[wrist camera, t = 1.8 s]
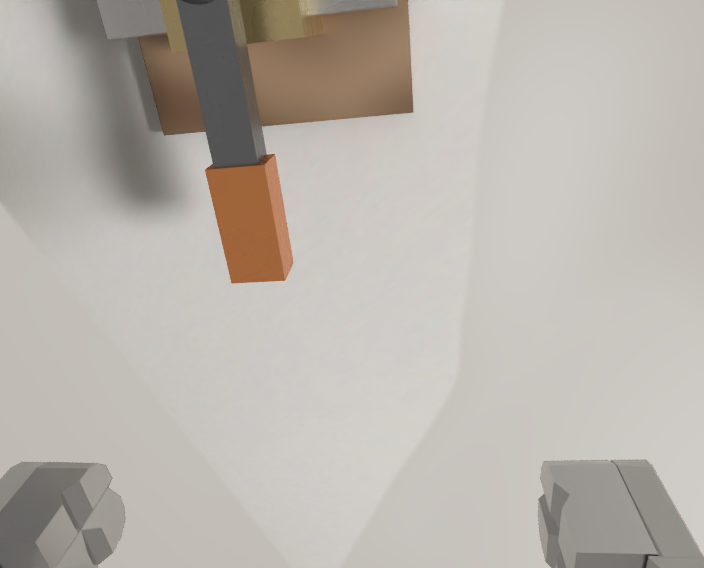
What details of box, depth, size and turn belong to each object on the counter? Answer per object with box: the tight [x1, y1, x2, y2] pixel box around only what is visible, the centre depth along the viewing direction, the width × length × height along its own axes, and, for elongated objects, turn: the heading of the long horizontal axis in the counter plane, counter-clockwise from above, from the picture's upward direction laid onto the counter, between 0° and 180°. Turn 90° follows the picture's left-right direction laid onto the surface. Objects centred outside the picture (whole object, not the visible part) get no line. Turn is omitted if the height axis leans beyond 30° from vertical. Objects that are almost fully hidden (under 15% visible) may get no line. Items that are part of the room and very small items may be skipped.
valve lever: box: [176, 0, 293, 283], centre depth 20 cm, size 13×3×2 cm, turn 6°
